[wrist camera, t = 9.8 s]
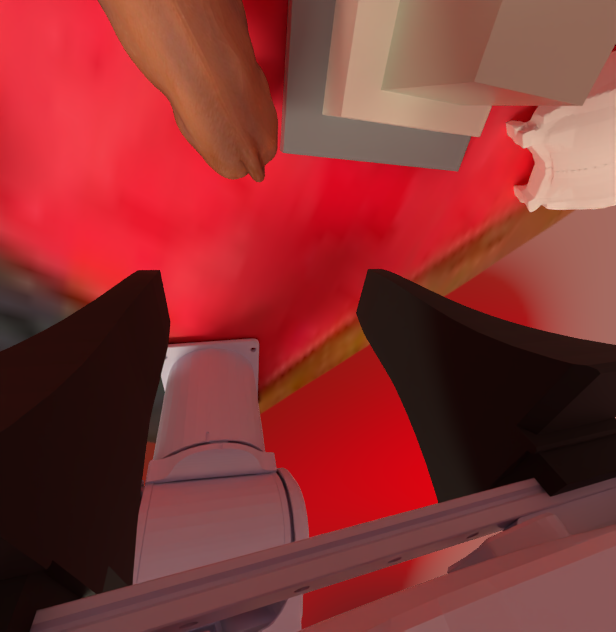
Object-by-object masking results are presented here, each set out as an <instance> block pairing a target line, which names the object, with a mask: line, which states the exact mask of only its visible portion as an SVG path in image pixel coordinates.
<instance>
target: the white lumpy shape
mask: <svg viewBox="0 0 616 632" xmlns="http://www.w3.org/2000/svg"><path fill="white" fill-rule="evenodd" d="M506 129H507V135H508V136H509V137H511V138H512V139H513V141H514V142H515V144H517V145H520V146H521V147H522V148H528V149H529V151H530V152H531V153H532V154H533V159H534V162H535V165H534V167H533V170H532V173H531V175H530V178H529V181H528V184H525V185H523V186H522V185H515V186H514V193H515V196H516V197H517V198H518V199H519V201H520V202H521V203H525V205H526V207H527V208H528V210H529V211H530V212H533V211H535V210H536V209H538V208H539V207H540V205H543V206H544V207H545V208H547V209H553V210H571V209H578V210H579V209H580V210H584V209H594V210H595V209H599V208H606V207H609V206H615V205H616V51H614V52H611V54H610V55H609V57H608V59H607V61H606V63H605V65H604V67H603V68H602V70H601V72H600V74H599V76H598V78H597V80H596V81H595V83H594V85H593V87H592V89H591V91H590V93H589V94H588V96H587V98H586V100H585V102H584V104H583V106H538V107H537V109H536V110H535V112H534V113H533V115H532V118H531V120H530V121H528V122H522V121H514V120H513V121H508V122H506Z"/></svg>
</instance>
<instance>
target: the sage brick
mask: <svg viewBox="0 0 616 632" xmlns="http://www.w3.org/2000/svg"><path fill="white" fill-rule="evenodd" d="M615 44H616V0H400V2H399V7H398V11H397V16H396V21H395V26H394V30H393V35H392V40H391V45H390V49H389V54H388V59H387V64H386V68H385V73H384V78H383V83H382V87H381V90H384V91H389V92H394V93H400V94H405V95H410V96H415V97H421V98H426V99H431V100H436V101H442V102H447V103H452V104H457V105H494V106H583V104H584V102H585V100H586V98H587V96H588V94H589V93H590V91H591V89H592V87H593V85H594V83H595V81H596V80H597V78H598V76H599V74H600V72H601V70H602V68H603V67H604V65H605V63H606V61H607V59H608V57H609V55H610V54H611V52H612V50H613V48H614V46H615Z"/></svg>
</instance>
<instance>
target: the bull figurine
mask: <svg viewBox="0 0 616 632" xmlns="http://www.w3.org/2000/svg"><path fill="white" fill-rule="evenodd" d="M98 2H99V3H100V5H101V7H102V9H103V10H104V12H105V14H106V15H107V17H108V19H109V21H110V23H111V25H112V27H113V29H114V31H115V33H116V35H117V37H118V39H119V40H120V42H121V44H122V46H123V47H124V49H125V51H126V52H127V54H128V55H129V57H130V58H131V59H132V61H133V62H134V63H135V64H136V66H137V67H138V68H139V69H140V71H141V72H142V73H143V74H144V75H145V77H146V78H147V79H148V80H149V81H150V82H151V83H152V84H153V85H154V86H155V87H156V88H157V89H159V90H160V91H161V92H162V93H163V94H164V95H165V96H166V97H167V99H168V100H169V101H170V103H171V106H172V109H173V113H174V117H175V121H176V123H177V126H178V128H179V129H180V131H181V133H182V134H183V136H184V137H185V138H186V140H187V141H188V142H189V143H190V144H191V145H192V146H193V147H194V148H195V149H196V151H197V152H198V153H199V154H200V155H201V156H202V157H203V159H204V160H205V161H206V163H207V164H208V165H209V166H210V167H211V168H212V169H214V170H215V171H216V172H217V173H218V174H220V175H221V176H223V177H225V178H228V179H238V178H242V177H244V176H246V175H247V174H248V173H249V174H250V175H251V177H252V178H253V179H254V180H255V181H256V182H261V181H263V180H264V177H265V165H266V164H267V163H268V162H269V161H271V160H272V159H273V158H274V157H275V154H276V152H277V138H278V119H277V113H276V110H275V107H274V104H273V102H272V98H271V94H270V90H269V86H268V83H267V80H266V77H265V75H264V73H263V71H262V69H261V67H260V66H259V65H258V63H257V62H256V59H255V55H254V51H253V47H252V43H251V40H250V36H249V33H248V26H247V19H246V14H245V10H244V6H243V3H242V0H98Z"/></svg>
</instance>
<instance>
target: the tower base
mask: <svg viewBox="0 0 616 632" xmlns="http://www.w3.org/2000/svg"><path fill="white" fill-rule="evenodd" d="M399 2H400V0H288V16H287V35H286V53H285V72H284V90H283V108H282V127H281V145H280V151H281V152H283V153H290V154H299V155H309V156H318V157H327V158H337V159H346V160H356V161H365V162H375V163H384V164H393V165H403V166H412V167H422V168H431V169H441V170H450V171H458V170H459V167H460V165H461V162H462V159H463V157H464V154H465V151H466V149H467V146H468V143H469V141H470V138H471V136H474V137H480V135H481V133H482V130H483V128H484V125H485V123H486V120H487V117H488V115H489V112H490V110H491V107H492V105H457V104H452V103H447V102H442V101H436V100H431V99H426V98H421V97H415V96H410V95H405V94H400V93H394V92H389V91H384V90H381V87H382V83H383V78H384V73H385V68H386V64H387V59H388V54H389V49H390V45H391V40H392V35H393V30H394V26H395V21H396V16H397V11H398V7H399Z"/></svg>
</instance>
